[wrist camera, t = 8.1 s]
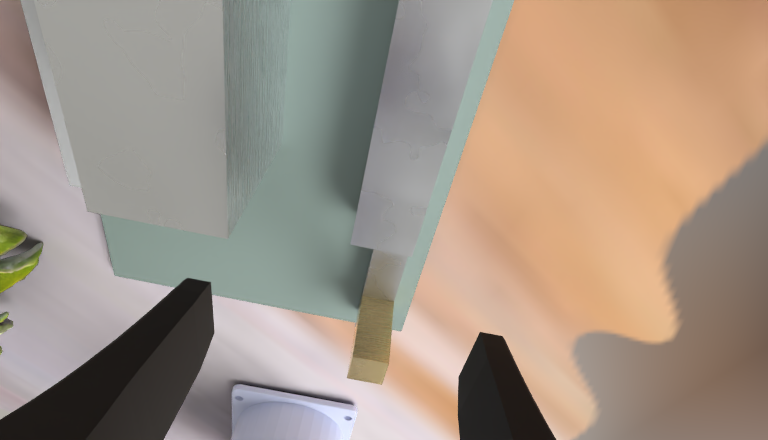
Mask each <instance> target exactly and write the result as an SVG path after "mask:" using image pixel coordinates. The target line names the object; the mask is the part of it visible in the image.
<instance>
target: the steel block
mask: <svg viewBox="0 0 768 440" xmlns="http://www.w3.org/2000/svg"><path fill="white" fill-rule="evenodd" d="M34 3H35V7H36V11H37V15H38V19H39V23H40V27H41V31H42V35H43V39H44V42H45V46H46V50H47V54H48V58H49V62H50V66H51V70H52V74H53V78H54V82H55V86H56V90H57V93H58V97H59V101H60V105H61V109H62V113H63V117H64V121H65V125H66V129H67V133H68V137H69V141H70V144H71V148H72V152H73V156H74V160H75V164H76V168H77V172H78V176H79V180H80V184H81V188H82V192H83V195H84V199H85V203H86V207H87V211H88V212H93V213H98V214H103V215H108V216H113V217H118V218H123V219H128V220H133V221H138V222H143V223H148V224H153V225H159V226H164V227H169V228H174V229H179V230H184V231H189V232H194V233H199V234H204V235H209V236H214V237H220V238H225V239H228V238H229V236H230V235H231V233H232V231H233V229H234V228H235V226H236V224H237V222H238V220H239V219H240V217H241V215H242V213H243V212H244V210H245V208H246V206H247V205H248V203H249V201H250V199H251V198H252V196H253V194H254V192H255V190H256V189H257V187H258V185H259V183H260V182H261V180H262V178H263V176H264V175H265V173H266V171H267V169H268V168H269V166H270V164H271V162H272V161H273V159H274V157H275V155H276V153H277V152H278V150H279V148H280V146H281V145H282V136H283V120H284V104H285V87H286V71H287V54H288V38H289V21H290V5H291V0H34Z"/></svg>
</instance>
